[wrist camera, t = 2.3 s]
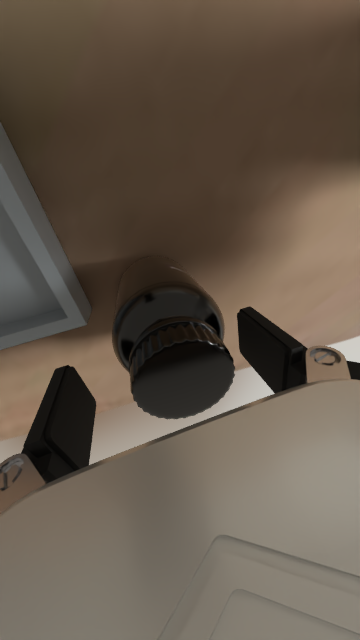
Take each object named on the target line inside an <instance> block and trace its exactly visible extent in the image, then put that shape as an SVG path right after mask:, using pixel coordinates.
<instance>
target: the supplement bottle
mask: <svg viewBox="0 0 360 640" xmlns="http://www.w3.org/2000/svg"><path fill="white" fill-rule="evenodd" d="M223 339H224V320H223V316H222V313H221V311H220V309H219V307H218V306H217V304H216V303H215V301H214V300H213V299H212V298H211V297H210V295H209V294H208V293H207V292H206V291H205V290H204V289H203V288H202V287H201V286H200V285H199V284H198V283H197V282H196V280H195V279H194V278H193V277H192V276H191V275H190V274H189V273H188V272H187V271H186V270H185V269H184V268H183V267H182V266H181V265H180V264H178V263H177V262H175V261H174V260H172V259H169V258H166V257H162V256H150V257H145V258H142V259H140V260H138V261H136V262H135V263H133V264H132V265H131V266H130V267H129V268H128V269H127V270H126V271H125V273H124V274H123V276H122V278H121V281H120V284H119V289H118V295H117V301H116V308H115V315H114V322H113V330H112V343H113V348H114V352H115V354H116V357H117V359H118V360H119V362H120V363H121V365H122V366H123V367H124V368H125V369H126V370H127V371H128V372H129V373H130V381H131V393H132V394H133V399H134V401H136V402H137V404H138V407H140V408H142V409H143V411H144V412H148V413H149V414H150V415H152V416H156V417H158V418H165V419H178V418H186V417H189V416H194V415H196V414H198V413H201V412H203V411H205V410H206V409H208V408H211V407H212V406H213V405H214V404H216V403H217V402H218V401H219V400H220V399H221V398H222V397H224V395H225V393H226V392H227V391H228V390H229V387H230V385H231V384H232V383H233V378H234V376H235V374H234V370H235V366H234V364H233V358H232V357H231V355H230V353H229V351H228V349H227V348H226V346H225V345H224V343H223Z"/></svg>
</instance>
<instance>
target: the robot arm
mask: <svg viewBox="0 0 360 640" xmlns="http://www.w3.org/2000/svg"><path fill="white" fill-rule="evenodd" d="M237 320H238V335H239V349H240V352H241V354H242V355H243V356H244V358H245V359H246V360H247V361H248V362H249V364H250V365H251V366H252V367H253V368H254V369H255V371H256V372H257V373H258V374H259V375H260V376H261V377H262V379H263V380H264V381H265V382H266V383H267V385H268V386H269V387H270V388H271V389H272V390H273V392H274V393H275V394H273V395H270V396H267V397H265V398H262V399H259V400H257V401H254V402H251V403H249V404H246V405H243V406H241V407H238V408H235V409H233V410H230V411H228V412H225V413H222V414H220V415H217V416H214V417H212V418H209V419H207V420H204V421H201V422H199V423H196V424H193V425H191V426H188V427H186V428H183V429H181V430H178V431H175V432H173V433H170V434H168V435H165V436H162V437H160V438H157V439H155V440H152V441H149V442H147V443H145V444H142V445H139V446H137V447H134V448H132V449H129V450H126V451H124V452H121V453H119V454H116V455H114V456H111V457H109V458H106V459H103V460H101V461H99V462H96V463H94V464H91V465H89V459H90V450H91V443H92V435H93V426H94V418H95V411H96V401H95V399H94V397H93V396H92V394H91V393H90V391H89V389H88V388H87V386H86V385H85V383H84V382H83V380H82V379H81V377H80V376H79V374H78V373H77V371H76V370H75V368H74V367H70V366H69V365H66V366H63V367H60V368H57V369H55V371H54V373H53V376H52V378H51V381H50V383H49V385H48V388H47V390H46V393H45V395H44V397H43V400H42V402H41V405H40V407H39V410H38V412H37V414H36V417H35V419H34V422H33V424H32V426H31V429H30V431H29V434H28V436H27V439H26V441H25V443H24V448H23V450H22V453H21V454H16V455H13V456H12V457H9V458H8V459H6V460H5V461H3V462H2V463H1V464H0V640H360V363H357V362H351V361H346V359H345V357H344V355H343V354H342V353H341V352H339V351H338V350H336V349H334V348H331V347H327V346H313V347H311V348H309V349H307V348H306V347H305V346H303V345H302V344H301V343H300V342H298V341H297V340H296V339H294V338H293V337H291V336H290V335H289V334H287V333H286V332H285V331H283V330H282V329H280V328H279V327H278V326H276V325H275V324H274V323H272V322H271V321H269V320H268V319H267V318H265V317H264V316H263V315H261V314H260V313H259V312H257V311H256V310H254V309H253V308H252V307H246V308H243V309H240V311H239V313H237Z"/></svg>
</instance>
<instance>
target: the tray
mask: <svg viewBox="0 0 360 640" xmlns="http://www.w3.org/2000/svg"><path fill="white" fill-rule="evenodd" d="M91 311H92V307H91V305H90V303H89V301H88V299H87V297H86V295H85V293H84V291H83V289H82V287H81V285H80V283H79V281H78V279H77V277H76V275H75V273H74V271H73V269H72V267H71V264H70V262H69V260H68V258H67V256H66V254H65V252H64V250H63V248H62V246H61V244H60V242H59V240H58V238H57V236H56V234H55V232H54V230H53V228H52V226H51V224H50V222H49V220H48V218H47V216H46V214H45V212H44V210H43V207H42V205H41V203H40V201H39V199H38V197H37V195H36V193H35V191H34V189H33V187H32V185H31V183H30V181H29V179H28V177H27V175H26V173H25V171H24V169H23V167H22V165H21V163H20V161H19V159H18V157H17V155H16V152H15V150H14V148H13V146H12V144H11V142H10V140H9V138H8V136H7V134H6V132H5V130H4V128H3V126H2V124H1V122H0V350H2V349H5V348H9V347H12V346H16V345H19V344H23V343H26V342H29V341H33V340H36V339H40V338H43V337H47V336H50V335H54V334H57V333H61V332H64V331H68V330H71V329H74V328H78V327H81V326H85V325H87V323H88V320H89V317H90V314H91Z"/></svg>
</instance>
